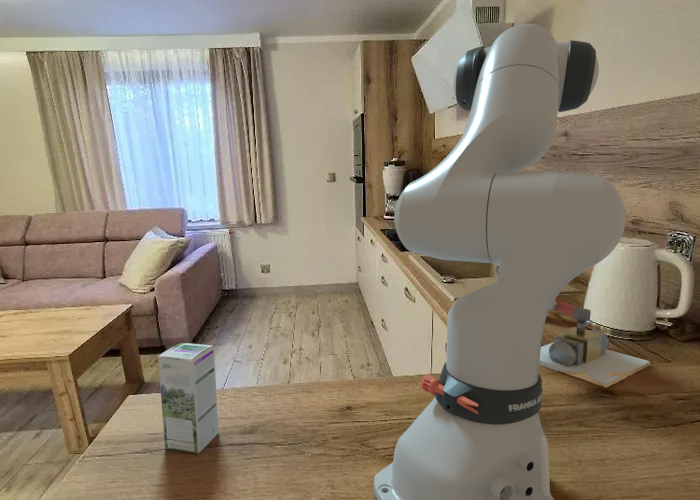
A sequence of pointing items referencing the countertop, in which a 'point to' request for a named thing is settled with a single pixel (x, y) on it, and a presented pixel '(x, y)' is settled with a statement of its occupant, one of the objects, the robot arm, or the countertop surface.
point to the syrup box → (188, 396)
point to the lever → (573, 310)
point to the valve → (578, 345)
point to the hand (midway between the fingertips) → (554, 308)
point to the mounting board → (596, 365)
